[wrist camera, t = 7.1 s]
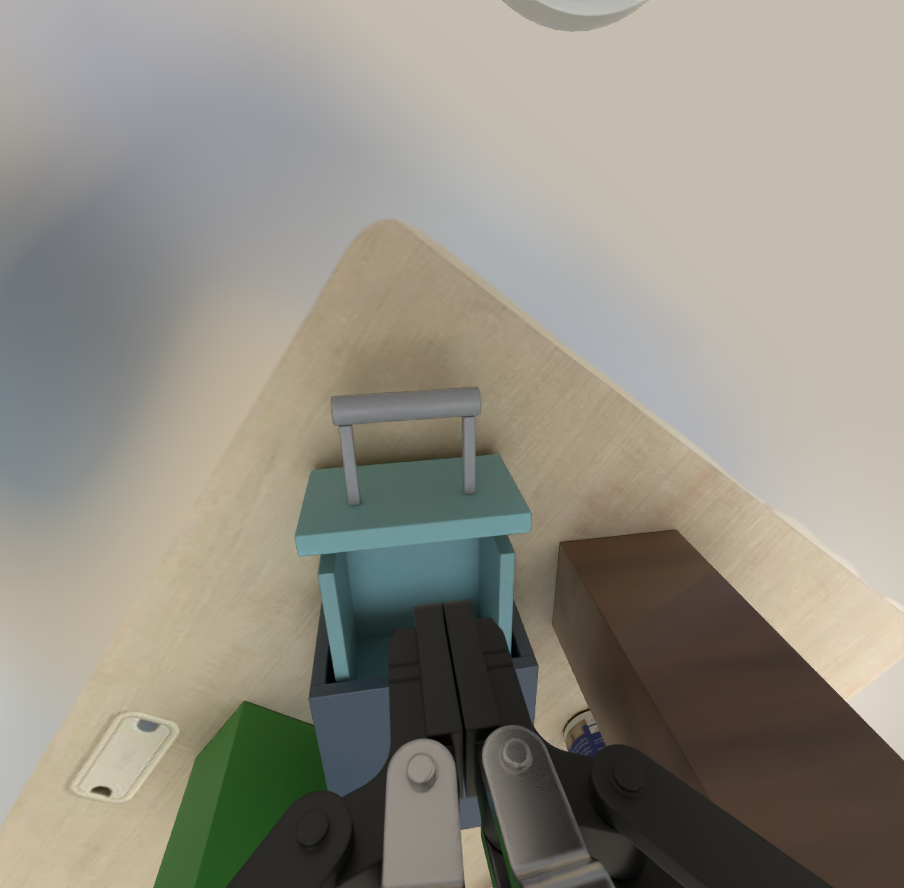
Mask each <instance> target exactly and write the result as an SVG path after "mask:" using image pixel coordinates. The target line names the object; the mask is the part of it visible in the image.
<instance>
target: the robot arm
mask: <svg viewBox="0 0 904 888" xmlns="http://www.w3.org/2000/svg"><path fill="white" fill-rule="evenodd" d="M413 610H414V625H415V627H409V628H401V629H395V630H394V633H393V635H392V637H391V639H390V642H389V644H388V646H387V648H388V679H389V709H390V740H391V742H390V751H389V755H388V758H387V760H386V762H385V764H384V766H383V768H382V769H381V770H380V772H379V773H378V774H377V775H376V776H375V777H374V778H373V779H372V780H371V781H370V782H368V783H367V784H365V785H363V786H362V787H360V788H358V789H356V790H354V791H352V792H351V793H349V794H347V795H345V796H343V797H341V796H339V795H338V794H336V793H334V792H331V791H325V790H320V791H314V792H310V793H308V794H306V795H304V796H302V797H300V798H299V799H297V800H296V801H295V802H294V803H293V804H292V805H291V806H290V807H289V808H288V809H287V810H286V811H285V813H284V814H283V815H282V816H281V818H280V819H279V820H278V821H277V823H276V824H275V825H274V827H273V828H272V829H271V830H270V832H269V833H268V834H267V835H266V837H265V838H264V839H263V841H262V842H261V843H260V844H259V846H258V847H257V848H256V849H255V851H254V852H253V853H252V855H251V856H250V857H249V858H248V860H247V861H246V862H245V863H244V865H243V866H242V867H241V869H240V870H239V871H238V872H237V874H236V875H235V876H234V877H233V879H232V880H231V881H230V883H229V884H228V885H227V886H226V888H465V883H464V871H463V858H462V844H461V831H460V800H461V799H463V780H464V787H465V793H466V798H471V797H477V800H478V806H479V812H480V817H481V838H482V843H483V847H484V851H485V855H486V859H487V864H488V868H489V872H490V876H491V880H492V884H493V888H834V887H832V886H831V885H829V884H828V883H826V882H825V881H824V880H822V879H821V878H819V877H818V876H817V875H815V874H814V873H812V872H811V871H809V870H808V869H807V868H805V867H804V866H802V865H801V864H800V863H798V862H797V861H795V860H794V859H792V858H791V857H790V856H788V855H787V854H785V853H784V852H783V851H781V850H780V849H778V848H777V847H775V846H774V845H773V844H771V843H770V842H768V841H767V840H766V839H764V838H763V837H761V836H760V835H758V834H757V833H756V832H754V831H753V830H751V829H750V828H749V827H747V826H746V825H744V824H743V823H741V822H740V821H739V820H737V819H736V818H734V817H733V816H732V815H730V814H729V813H727V812H726V811H724V810H723V809H722V808H720V807H719V806H717V805H716V804H715V803H713V802H712V801H710V800H709V799H707V798H706V797H705V796H703V795H702V794H700V793H699V792H698V791H696V790H695V789H693V788H692V787H690V786H689V785H688V784H686V783H685V782H683V781H682V780H681V779H679V778H678V777H676V776H675V775H673V774H672V773H671V772H669V771H668V770H666V769H665V768H664V767H662V766H661V765H659V764H658V763H656V762H655V761H654V760H652V759H651V758H649V757H648V756H647V755H645V754H644V753H642V752H641V751H639V750H637V749H635V748H633V747H630V746H627V745H622V744H613V745H608V746H606V747H604V748H602V749H601V750H599V751H598V753H597V754H596V755H595V757H592V756H587V755H581V754H576V753H571V752H566V751H563V750H560V749H558V748H556V747H554V746H552V745H550V744H549V743H548V742H546V741H545V740H544V739H543V738H542V737H541V736H540V735H539V733H538V732H537V731H536V729H535V728H534V726H533V724H532V721H531V718H530V715H529V712H528V709H527V705H526V702H525V699H524V696H523V693H522V689H521V686H520V683H519V680H518V677H517V673H516V670H515V667H514V665H513V661H512V657H511V654H510V652H509V648H508V645H507V641H506V638H505V635H504V632H503V630H502V629H501V628H500V627H499V626H498V625H497V624H496V622H495V621H494V620H493V619H492V618H491V617H489V618H480V619H474V615H473V611H472V607H471V603H470V600H469V599H466V600H458V601H449V602H442V609H441V604H440V603H433V604H425V605H417V606H413Z"/></svg>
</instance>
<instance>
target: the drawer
mask: <svg viewBox="0 0 904 888" xmlns="http://www.w3.org/2000/svg"><path fill="white" fill-rule="evenodd" d="M480 412H481V396H480V391H479V388H478V387H463V388H448V389H433V390H418V391H403V392H387V393H372V394H357V395H342V396H332V398H331V413H332V420H333V424H334V425H335V426H339V433H340V441H341V449H342V457H343V464H344V467H340V468H328V469H316V470H311V472H310V476H309V481H308V485H307V489H306V493H305V497H304V501H303V505H302V509H301V513H300V517H299V521H298V525H297V529H296V533H295V542H296V547H297V553H298V556H299V557H301V556H310V555H320V554H321V557H320V563H319V569H318V580H319V586H320V592H321V598H322V604H323V610H324V616H325V621H326V627H327V633H328V639H329V645H330V651H331V656H332V662H333V668H334V674H335V680H336V683H338V682H345V681H352V680H359V679H367V678H374V677H381V676H388V648H387V646H388V644H389V642H390V639H391V637H392V635H393V633H394V630H395V629H401V628H409V627H415V625H414V610H413V606H417V605H425V604H433V603H440V604H441V609H442V602H449V601H458V600H466V599H469V600H470V603H471V607H472V611H473V615H474V619H480V618H489V617H491V618H492V619H493V620H494V621H495V622H496V624H497V625H498V626H499V627H500V628H501V629H502V630H503V632H504V635H505V638H506V641H507V645H508V648H509V652H510V654H511V637H512V613H513V590H514V566H515V552H514V550H513V547H512V545H511V543H510V540H509V538H508V536H507V535H509V534H518V533H528V532H530V530H531V511H530V509H529V508H528V506H527V504H526V502H525V500H524V498H523V497H522V495H521V493H520V491H519V489H518V487H517V486H516V484H515V482H514V480H513V478H512V476H511V475H510V473H509V471H508V469H507V467H506V465H505V464H504V462H503V460H502V458H501V456H500V455H499V454H494V455H482V456H475V416H474V415H479V414H480ZM461 416H462V457H458V458H447V459H435V460H423V461H411V462H399V463H387V464H375V465H364V466H357V463H356V454H355V445H354V436H353V428H352V424H366V423H379V422H393V421H407V420H420V419H434V418H447V417H461Z"/></svg>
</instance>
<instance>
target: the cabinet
mask: <svg viewBox="0 0 904 888" xmlns="http://www.w3.org/2000/svg"><path fill="white" fill-rule="evenodd" d="M511 657H512V661H513V665H514V667H515V670H516V673H517V677H518V680H519V683H520V686H521V689H522V693H523V696H524V699H525V702H526V705H527V709H528V712H529V715H530V718H531V721H532V724H533V726H534V717H535V704H536V691H537V678H538V664H537V661H536V658H535V656H534V653H533V650H532V648H531V645H530V642H529V640H528V637H527V634H526V632H525V629H524V626H523V623H522V621H521V618H520V615H519V613H518V610H517V607H516V605H515V602H514V599H513V613H512V637H511ZM309 703H310V708H311V713H312V717H313V722H314V727H315V732H316V737H317V741H318V746H319V751H320V756H321V760H322V765H323V770H324V775H325V780H326V784H327V789H328V791H331V792H334V793H336V794H338V795H339V796H341V797H343V796H345V795H347V794H349V793H351V792H352V791H354V790H356V789H358V788H360V787H362V786H363V785H365V784H367V783H368V782H370V781H371V780H372V779H373V778H374V777H375V776H376V775H377V774H378V773H379V772H380V770H381V769H382V768H383V766H384V764H385V762H386V760H387V758H388V755H389V751H390V742H391V740H390V709H389V679H388V676H381V677H374V678H367V679H359V680H352V681H345V682H338V683H336V680H335V674H334V668H333V662H332V656H331V651H330V645H329V639H328V633H327V627H326V621H325V616H324V610H323V604H322V603H321V611H320V618H319V626H318V633H317V641H316V648H315V656H314V663H313V671H312V678H311V687H310V692H309ZM480 826H481V817H480V812H479V806H478V800H477V797H471V798H466V793H465V787H464V780H463V799H461V800H460V830H463V829H469V828H474V827H480Z"/></svg>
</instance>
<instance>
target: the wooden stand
mask: <svg viewBox="0 0 904 888" xmlns="http://www.w3.org/2000/svg"><path fill="white" fill-rule="evenodd" d="M553 628H554V630H555V632H556V635H557V637H558V639H559V641H560V644H561V646H562V648H563V650H564V653H565V655H566V657H567V659H568V662H569V664H570V666H571V668H572V671H573V673H574V675H575V677H576V680H577V682H578V684H579V686H580V689H581V691H582V693H583V695H584V698H585V700H586V702H587V704H588V707H589V709H590V711H591V713H592V716H593V718H594V720H595V722H596V724H597V727H598V729H599V731H600V733H601V736H602V738H603V740H604V742H605V745H606V746H608V745H613V744H622V745H627V746H630V747H633V748H635V749H637V750H639V751H641V752H642V753H644V754H645V755H647V756H648V757H649V758H651V759H652V760H654V761H655V762H656V763H658V764H659V765H661V766H662V767H664V768H665V769H666V770H668V771H669V772H671V773H672V774H673V775H675V776H676V777H678V778H679V779H681V780H682V781H683V782H685V783H686V784H688V785H689V786H690V787H692V788H693V789H695V790H696V791H698V792H699V793H700V794H702V795H703V796H705V797H706V798H707V799H709V800H710V801H712V802H713V803H715V804H716V805H717V806H719V807H720V808H722V809H723V810H724V811H726V812H727V813H729V814H730V815H732V816H733V817H734V818H736V819H737V820H739V821H740V822H741V823H743V824H744V825H746V826H747V827H749V828H750V829H751V830H753V831H754V832H756V833H757V834H758V835H760V836H761V837H763V838H764V839H766V840H767V841H768V842H770V843H771V844H773V845H774V846H775V847H777V848H778V849H780V850H781V851H783V852H784V853H785V854H787V855H788V856H790V857H791V858H792V859H794V860H795V861H797V862H798V863H800V864H801V865H802V866H804V867H805V868H807V869H808V870H809V871H811V872H812V873H814V874H815V875H817V876H818V877H819V878H821V879H822V880H824V881H825V882H826V883H828V884H829V885H831V886H832V887H834V888H904V760H903V759H902V758H901V757H900V756H899V755H898V754H897V753H896V752H895V751H894V750H893V749H892V748H891V747H890V746H889V745H888V744H887V743H886V742H885V741H884V740H883V739H882V738H881V737H880V736H879V735H878V734H877V733H876V732H875V731H874V730H873V729H872V728H871V727H870V726H869V725H868V724H867V723H866V722H865V721H864V720H863V719H862V718H861V717H860V716H859V715H858V714H857V713H856V711H854V709H853V708H852V707H850V705H849V704H848V703H847V702H846V701H845V700H844V699H843V698H842V697H841V696H840V695H839V694H838V693H837V692H836V691H835V690H834V689H833V688H832V687H831V686H830V685H829V684H828V683H827V682H826V681H825V680H824V679H823V678H822V677H821V676H820V675H819V674H818V673H817V672H816V671H815V670H814V669H813V668H812V667H811V666H810V665H809V664H808V663H807V662H806V661H805V660H804V659H803V658H802V657H801V656H800V655H799V654H798V653H797V652H796V651H795V650H794V649H793V648H792V647H791V646H790V645H789V644H788V642H787V641H786V640H785V639H784V638H783V637H782V636H781V635H780V634H779V633H778V632H777V631H776V630H775V629H774V628H773V627H772V626H771V625H770V624H769V623H768V622H767V621H766V620H765V619H764V618H763V617H762V616H761V615H760V614H759V613H758V612H757V611H756V610H755V609H754V608H753V607H752V606H751V605H750V604H749V603H748V602H747V601H746V600H745V599H744V598H743V597H742V596H741V595H740V594H739V593H738V592H737V591H736V590H735V589H734V588H733V587H732V586H731V585H730V584H729V583H728V582H727V581H726V580H725V579H724V578H723V577H722V576H721V575H720V574H719V572H718V571H717V570H716V569H715V568H714V567H713V566H712V565H711V564H710V563H709V562H708V561H707V560H706V559H705V558H704V557H703V556H702V555H701V554H700V553H699V552H698V551H697V550H696V549H695V548H694V547H693V546H692V545H691V544H690V543H689V542H688V541H687V540H686V539H685V538H684V537H683V536H682V535H681V534H680V533H679V532H678V531H677V530H671V531H662V532H653V533H644V534H635V535H626V536H616V537H607V538H598V539H589V540H580V541H571V542H562V543H560V549H559V561H558V572H557V583H556V594H555V605H554V617H553Z"/></svg>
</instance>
